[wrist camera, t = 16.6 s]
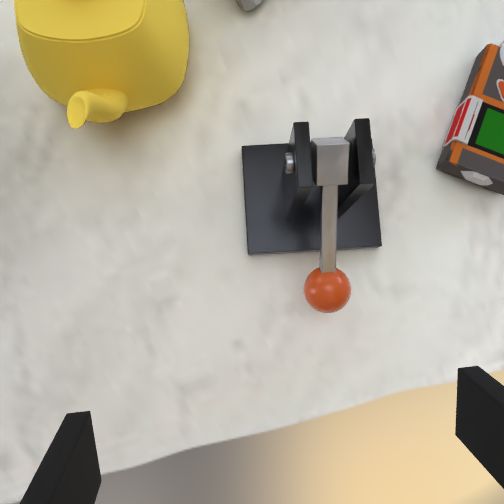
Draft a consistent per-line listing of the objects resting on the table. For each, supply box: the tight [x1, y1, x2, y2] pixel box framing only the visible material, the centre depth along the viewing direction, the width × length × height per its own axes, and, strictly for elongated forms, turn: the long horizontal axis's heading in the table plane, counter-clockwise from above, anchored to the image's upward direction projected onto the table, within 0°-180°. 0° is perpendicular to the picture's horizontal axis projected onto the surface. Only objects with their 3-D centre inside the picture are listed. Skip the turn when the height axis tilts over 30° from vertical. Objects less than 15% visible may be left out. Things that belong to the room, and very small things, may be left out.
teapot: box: [14, 0, 189, 129], centre depth 37 cm, size 14×20×13 cm
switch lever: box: [304, 137, 351, 313], centre depth 33 cm, size 13×4×4 cm, turn 3°
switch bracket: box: [242, 118, 382, 255], centre depth 36 cm, size 10×12×13 cm
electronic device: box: [437, 41, 504, 195], centre depth 41 cm, size 7×3×15 cm
